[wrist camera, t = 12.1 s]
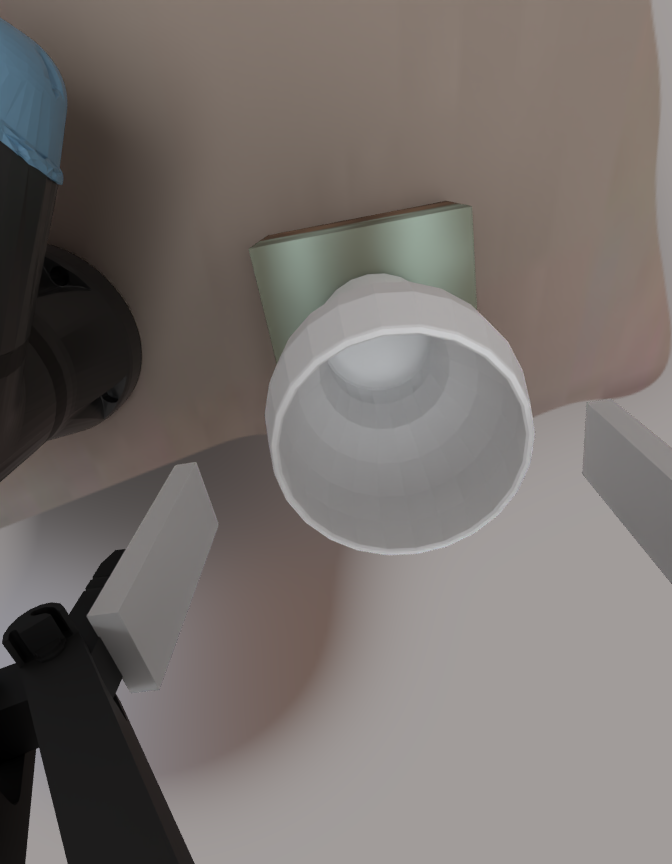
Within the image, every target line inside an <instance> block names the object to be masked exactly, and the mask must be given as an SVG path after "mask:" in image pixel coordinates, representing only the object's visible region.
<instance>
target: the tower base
mask: <svg viewBox="0 0 672 864" xmlns="http://www.w3.org/2000/svg"><path fill="white" fill-rule="evenodd" d="M249 253H250V257H251V261H252V265H253V269H254V273H255V278H256V282H257V286H258V290H259V294H260V298H261V302H262V306H263V310H264V314H265V318H266V322H267V326H268V330H269V334H270V339H271V343H272V347H273V351H274V355H275V359H276V363H278V361H279V358H280V356H281V354H282V352H283V350H284V348H285V346H286V343H287V341H288V339H289V338H290V336H291V335H292V334H293V333H294V332H295V331H296V329H297V328H298V327H299V326H300V325H301V324H302V322H303V321H304V320H305V319H306V318H307V317H308V316H309V314H310V313H312V312H313V311H315V310H316V309H318V308H319V307H321V306H322V305H324V304H325V303H326V301H327V300H328V299H329V298H330V297H331V295H332V294H333V293H334V292H335V291H336V290H337V289H338V288H340V287H341V286H343V285H344V284H346V283H347V282H349V281H350V280H352V279H355V278H358V277H361V276H364V275H367V274H382V273H385V274H389V275H394V276H398V277H402V278H403V279H405V280H407V281H409V282H414V283H418V284H423V285H427V286H432V287H437V288H441V289H443V290H445V291H447V292H449V293H450V294H452V295H454V296H456V297H458V298H460V299H462V300H463V301H465V302H467V303H469V304H471V305H472V306H473V307H474V308H475V309H476V310H477V300H476V280H475V259H474V239H473V219H472V206H469V205H464V204H459V203H454V202H449V201H444V202H439V203H433V204H428V205H423V206H418V207H413V208H408V209H402V210H397V211H392V212H387V213H382V214H377V215H371V216H366V217H361V218H356V219H351V220H346V221H340V222H335V223H330V224H325V225H320V226H315V227H309V228H304V229H299V230H294V231H289V232H284V233H278V234H273V235H268V236H267V237H265V238H264V239H262V240H261V241H259V242H258V243H256V244H255V245H254V246H252V247H251V248H249Z"/></svg>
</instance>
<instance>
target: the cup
mask: <svg viewBox="0 0 672 864" xmlns="http://www.w3.org/2000/svg"><path fill="white" fill-rule="evenodd" d="M265 422H266V429H267V436H268V443H269V449H270V454H271V459H272V465H273V471H274V475H275V477H276V479H277V481H278V483H279V485H280V488H281V490H282V492H283V494H284V496H285V499H286V500H287V501H288V503H289V504H290V505H291V506H292V507H293V509H294V510H295V511H296V512H297V513H298V514H299V515H300V517H301V518H302V519H303V520H304V521H305V522H306V523H307V524H308V525H310V526H311V527H313V528H314V529H315V530H317V531H319V532H320V533H321V534H323V535H324V536H325V537H327V538H328V539H330V540H333V541H335V542H338V543H340V544H342V545H345V546H347V547H350V548H353V549H355V550H359V551H365V552H370V553H376V554H382V555H405V554H419V553H423V552H427V551H431V550H436V549H439V548H444V547H447V546H449V545H451V544H453V543H455V542H458V541H459V540H462V539H464V538H466V537H468V536H470V535H473V534H474V533H476V532H477V531H478V530H480V529H481V528H482V527H484V526H485V525H486V524H488V523H489V522H490V521H491V520H493V519H494V518H495V517H497V516H498V515H499V514H500V512H501V511H502V510H503V509H504V507H505V506H506V505H507V504H508V503H509V501H510V500H511V499H512V498H513V497H514V495H515V494H516V493H517V492H518V490H519V487H520V485H521V483H522V481H523V479H524V477H525V474H526V472H527V470H528V468H529V465H530V463H531V458H532V450H533V444H534V437H535V429H534V423H533V417H532V411H531V405H530V400H529V395H528V391H527V386H526V382H525V378H524V373H523V370H522V368H521V366H520V364H519V362H518V360H517V358H516V356H515V354H514V352H513V350H512V349H511V347H510V345H509V343H508V341H507V340H506V339H505V338H504V337H503V336H502V335H501V334H500V333H499V332H498V331H497V330H496V329H495V328H494V327H493V326H492V325H491V324H490V323H489V322H488V321H487V320H486V319H485V318H484V317H483V316H482V315H481V314H480V313H479V312H478V311H477V310H476V309H475V308H474V307H473V306H472V305H471V304H469V303H467V302H465V301H463V300H462V299H460V298H458V297H456V296H454V295H452V294H450V293H449V292H447V291H445V290H443V289H441V288H437V287H432V286H427V285H423V284H418V283H414V282H409V281H407V280H405V279H403V278H402V277H398V276H394V275H389V274H385V273H382V274H367V275H364V276H361V277H358V278H355V279H352V280H350V281H349V282H347V283H346V284H344V285H343V286H341V287H340V288H338V289H337V290H336V291H335V292H334V293H333V294H332V295H331V297H330V298H329V299H328V300H327V301H326V303H325V304H324V305H322V306H321V307H319V308H318V309H316V310H315V311H313V312H312V313H310V314H309V316H308V317H307V318H306V319H305V320H304V321H303V322H302V324H301V325H300V326H299V327H298V328H297V329H296V331H295V332H294V333H293V334H292V335H291V336H290V338H289V339H288V341H287V343H286V346H285V348H284V350H283V352H282V354H281V356H280V358H279V361H278V363H277V365H276V367H275V370H274V372H273V375H272V378H271V380H270V383H269V388H268V395H267V402H266V408H265Z"/></svg>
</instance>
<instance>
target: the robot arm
mask: <svg viewBox="0 0 672 864" xmlns="http://www.w3.org/2000/svg"><path fill="white" fill-rule="evenodd" d="M66 114H67V93H66V88H65V84H64V81H63V79H62V76H61V74H60V72H59V70H58V68H57V67H56V65H55V63H54V62H53V61H52V59H51V58H50V57H49V55H48V54H47V53H46V52H45V51H44V50H43V49H42V48H41V47H40V46H39V45H38V44H37V43H36V42H34V41H33V40H32V39H30V38H29V37H28V36H26V35H25V34H24V33H22V32H21V31H19V30H18V29H17V28H15V27H14V26H12V25H11V24H9V23H8V22H6V21H5V20H3V19H2V18H0V482H1V481H2V480H3V479H4V478H6V477H7V476H8V475H9V474H10V473H11V472H12V471H14V470H15V469H16V468H17V467H18V466H19V465H20V464H21V463H23V462H24V461H25V460H26V459H27V458H28V457H29V456H31V455H32V454H33V453H34V452H35V451H36V450H37V449H38V448H39V447H40V446H42V445H43V444H44V443H45V442H46V441H48V440H52V439H55V438H59V437H62V436H66V435H69V434H73V433H76V432H80V431H83V430H86V429H89V428H91V427H93V426H96V425H97V424H99V423H101V422H102V421H104V420H105V419H107V418H108V417H109V416H111V415H112V414H113V413H114V412H115V411H116V410H117V409H118V408H119V407H120V406H121V405H122V404H123V403H124V402H125V401H126V400H127V398H128V397H129V396H130V394H131V393H132V391H133V389H134V387H135V385H136V383H137V380H138V377H139V373H140V368H141V344H140V339H139V334H138V331H137V328H136V324H135V322H134V319H133V317H132V315H131V313H130V311H129V309H128V307H127V305H126V304H125V302H124V301H123V299H122V298H121V296H120V295H119V293H118V292H117V291H116V289H115V288H114V287H113V286H112V285H111V284H110V283H109V281H108V280H107V279H106V278H105V277H104V276H102V275H101V274H100V273H99V272H98V271H97V270H96V269H94V268H93V267H92V266H91V265H89V264H88V263H86V262H85V261H83V260H82V259H80V258H79V257H77V256H75V255H73V254H71V253H69V252H67V251H65V250H63V249H60V248H58V247H55V246H52V245H49V244H47V241H48V236H49V231H50V226H51V220H52V215H53V210H54V204H55V199H56V194H57V189H58V184H59V185H62V184H63V179H64V178H63V173H62V171H61V169H60V161H61V153H62V145H63V137H64V130H65V122H66ZM582 473H583V475H584V477H585V478H586V479H587V480H588V481H589V483H590V484H591V485H592V486H593V488H594V489H595V490H596V491H597V493H598V494H599V495H600V496H601V497H602V499H603V500H604V501H605V502H606V504H607V505H608V506H609V507H610V509H611V510H612V511H613V512H614V514H615V515H616V516H617V517H618V518H619V520H620V521H621V522H622V523H623V525H624V526H625V527H626V528H627V529H628V531H629V532H630V533H631V534H632V536H633V537H634V538H635V539H636V541H637V542H638V543H639V544H640V546H641V547H642V548H643V549H644V550H645V552H646V553H647V554H648V555H649V556H650V558H651V559H652V560H653V562H654V563H655V564H656V565H657V566H658V568H659V569H660V570H661V571H662V573H663V574H664V575H665V576H666V578H667V579H668V580H669V581H670V582H671V584H672V448H671V447H670V446H669V445H667V444H666V443H665V442H664V441H663V440H661V439H660V438H659V437H658V436H656V435H655V434H654V433H653V432H651V431H650V430H649V429H648V428H647V427H645V426H644V425H643V424H642V423H641V422H639V421H638V420H637V419H635V418H634V417H633V416H632V415H630V413H628V412H627V411H626V410H625V409H623V408H622V407H621V406H620V405H618V404H617V403H616V402H614V400H612V399H605V400H599V401H592V402H587V405H586V421H585V439H584V455H583V472H582ZM218 526H219V524H218V521H217V518H216V515H215V512H214V510H213V507H212V504H211V502H210V499H209V496H208V493H207V490H206V488H205V485H204V482H203V479H202V476H201V474H200V471H199V468H198V465H197V462H192V463H185V464H179V465H175V466H174V468H173V470H172V472H171V473H170V475H169V476H168V478H167V480H166V482H165V483H164V485H163V487H162V488H161V490H160V492H159V494H158V495H157V497H156V499H155V501H154V502H153V504H152V506H151V507H150V509H149V511H148V512H147V514H146V516H145V517H144V519H143V521H142V522H141V524H140V526H139V528H138V529H137V531H136V533H135V534H134V536H133V538H132V540H131V541H130V543H129V545H128V546H127V548H126V549H122V550H115V551H114V552H113V553H112V554H111V555H110V556H109V557H108V558H107V559H105V561H103V562H102V563H101V564H100V566H99V568H98V569H97V571H96V572H95V574H94V576H93V580H90V582H89V584H88V585H87V587H86V591H84V592H83V593H82V595H81V596H80V598H79V599H78V601H77V603H76V604H75V606H74V607H73V609H72V611H71V612H70V614H69V615H68V613H67V611H66V610H65V608H64V607H63V606H62V605H61V604H60V603H47V604H42V605H39V606H37V607H35V608H33V609H30V610H29V611H27V612H26V613H24V614H23V615H21V616H20V617H18V618H17V619H16V620H15V621H14V622H13V623H12V624H11V625H10V626H9V627H8V629H7V630H6V632H5V633H4V635H3V641H2V644H3V645H4V647H5V648H6V649H7V651H8V652H9V654H10V655H11V656H12V658H13V659H14V661H15V662H16V663H15V664H12V665H9V666H7V667H4V668H1V669H0V864H25V859H26V849H27V839H28V828H29V817H30V806H31V796H32V786H33V775H34V764H35V755H36V749H37V748H40V753H41V757H42V761H43V765H44V769H45V773H46V777H47V781H48V785H49V788H50V793H51V797H52V801H53V805H54V809H55V813H56V818H57V822H58V825H59V829H60V834H61V838H62V842H63V846H64V850H65V854H66V858H67V862H68V864H195V863H194V861H193V859H192V857H191V855H190V853H189V850H188V848H187V846H186V844H185V842H184V839H183V837H182V835H181V833H180V831H179V829H178V826H177V824H176V822H175V820H174V818H173V815H172V813H171V811H170V809H169V807H168V804H167V802H166V800H165V798H164V796H163V794H162V791H161V789H160V787H159V785H158V783H157V781H156V778H155V776H154V774H153V772H152V770H151V767H150V765H149V763H148V761H147V759H146V756H145V754H144V752H143V750H142V748H141V745H140V743H139V741H138V739H137V737H136V735H135V732H134V730H133V728H132V726H131V724H130V721H129V719H128V717H127V715H126V713H125V711H124V709H123V706H122V704H121V702H120V700H119V699H118V697H117V695H116V691H117V689H118V686H119V684H120V682H121V680H122V679H123V681H124V682H125V684H126V686H127V688H128V689H129V691H130V693H137V692H146V691H156V690H160V687H161V685H162V681H163V679H164V676H165V673H166V671H167V668H168V665H169V662H170V659H171V657H172V654H173V651H174V648H175V646H176V643H177V640H178V637H179V634H180V631H181V628H182V626H183V623H184V620H185V618H186V615H187V612H188V609H189V607H190V604H191V601H192V598H193V595H194V593H195V589H196V587H197V584H198V581H199V579H200V576H201V573H202V570H203V568H204V565H205V562H206V559H207V556H208V554H209V551H210V548H211V545H212V542H213V539H214V537H215V534H216V531H217V529H218Z"/></svg>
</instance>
